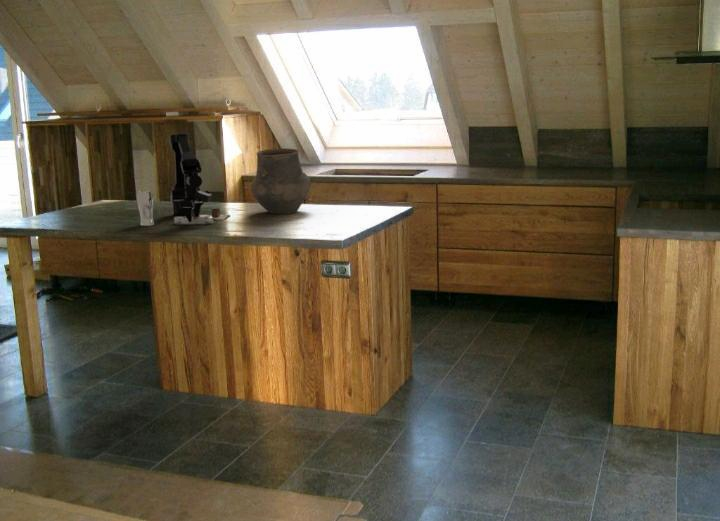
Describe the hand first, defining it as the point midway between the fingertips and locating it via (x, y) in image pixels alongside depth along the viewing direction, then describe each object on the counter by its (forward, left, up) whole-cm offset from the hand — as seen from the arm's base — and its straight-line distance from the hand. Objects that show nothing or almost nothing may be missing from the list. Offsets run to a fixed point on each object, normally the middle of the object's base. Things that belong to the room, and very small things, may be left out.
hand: (193, 220), depth 374 cm
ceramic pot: (+33, +31, -2) cm, 45 cm away
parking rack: (+1, +13, -2) cm, 13 cm away
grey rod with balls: (0, 0, -2) cm, 2 cm away
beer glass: (-21, -3, -2) cm, 21 cm away
